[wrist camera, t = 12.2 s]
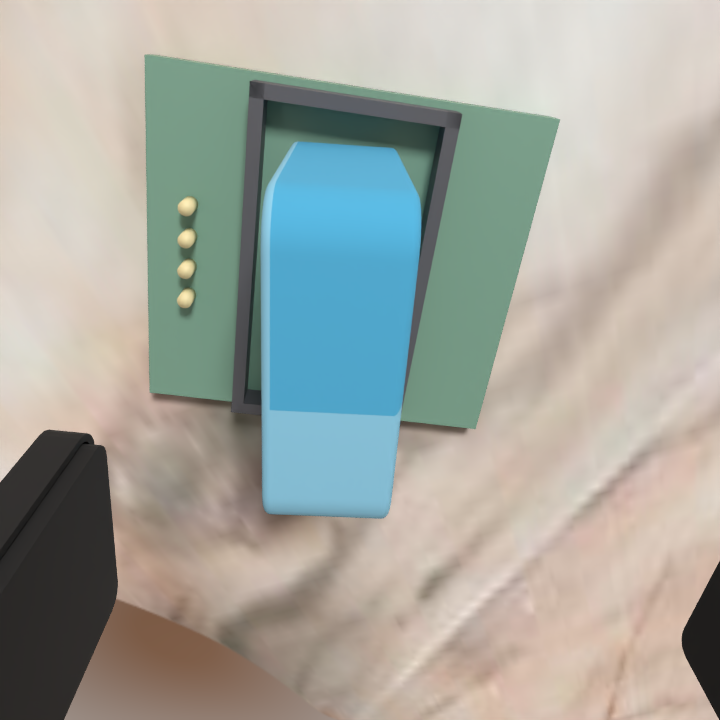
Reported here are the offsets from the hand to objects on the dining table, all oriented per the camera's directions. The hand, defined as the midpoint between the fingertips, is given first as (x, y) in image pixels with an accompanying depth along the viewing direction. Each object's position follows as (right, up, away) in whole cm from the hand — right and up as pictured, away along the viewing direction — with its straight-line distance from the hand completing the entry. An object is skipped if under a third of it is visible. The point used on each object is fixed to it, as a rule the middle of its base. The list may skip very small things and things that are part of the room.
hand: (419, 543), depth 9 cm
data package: (-2, +7, +21) cm, 22 cm away
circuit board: (-2, +8, +22) cm, 23 cm away
